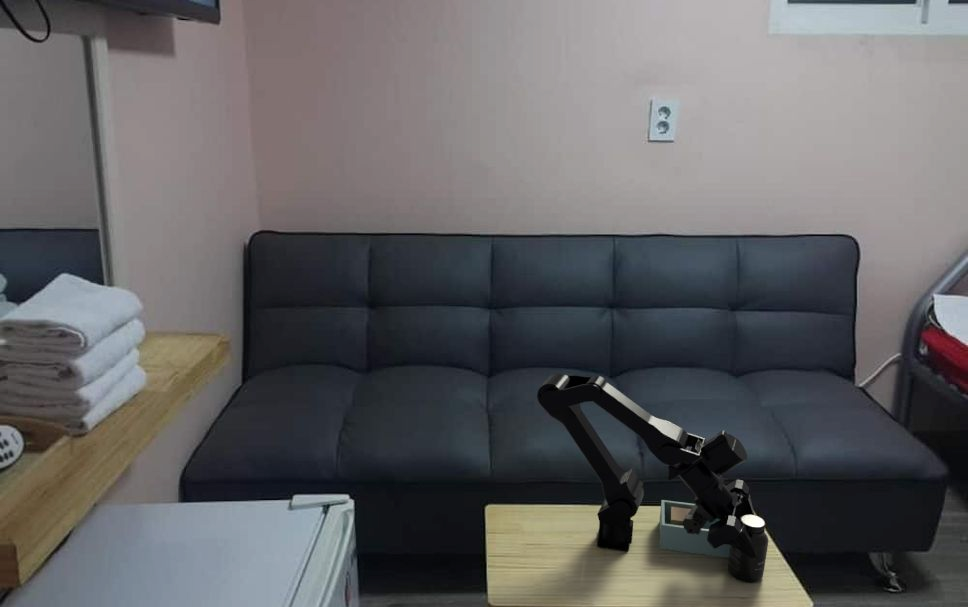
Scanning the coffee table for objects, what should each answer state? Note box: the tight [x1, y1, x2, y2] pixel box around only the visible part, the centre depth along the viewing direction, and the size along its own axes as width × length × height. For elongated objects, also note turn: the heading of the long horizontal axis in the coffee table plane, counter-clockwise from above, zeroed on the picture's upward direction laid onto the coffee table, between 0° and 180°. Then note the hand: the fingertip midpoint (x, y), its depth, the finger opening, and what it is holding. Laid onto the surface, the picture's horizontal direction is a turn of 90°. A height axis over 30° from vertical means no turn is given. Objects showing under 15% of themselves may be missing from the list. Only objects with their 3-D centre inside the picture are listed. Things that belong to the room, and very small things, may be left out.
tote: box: [658, 499, 730, 559], centre depth 170 cm, size 16×10×6 cm, turn 79°
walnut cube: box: [669, 507, 691, 526], centre depth 171 cm, size 5×5×5 cm
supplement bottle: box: [727, 514, 769, 584], centre depth 159 cm, size 7×7×12 cm
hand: (756, 546), depth 158 cm, fingers open, 7 cm apart
